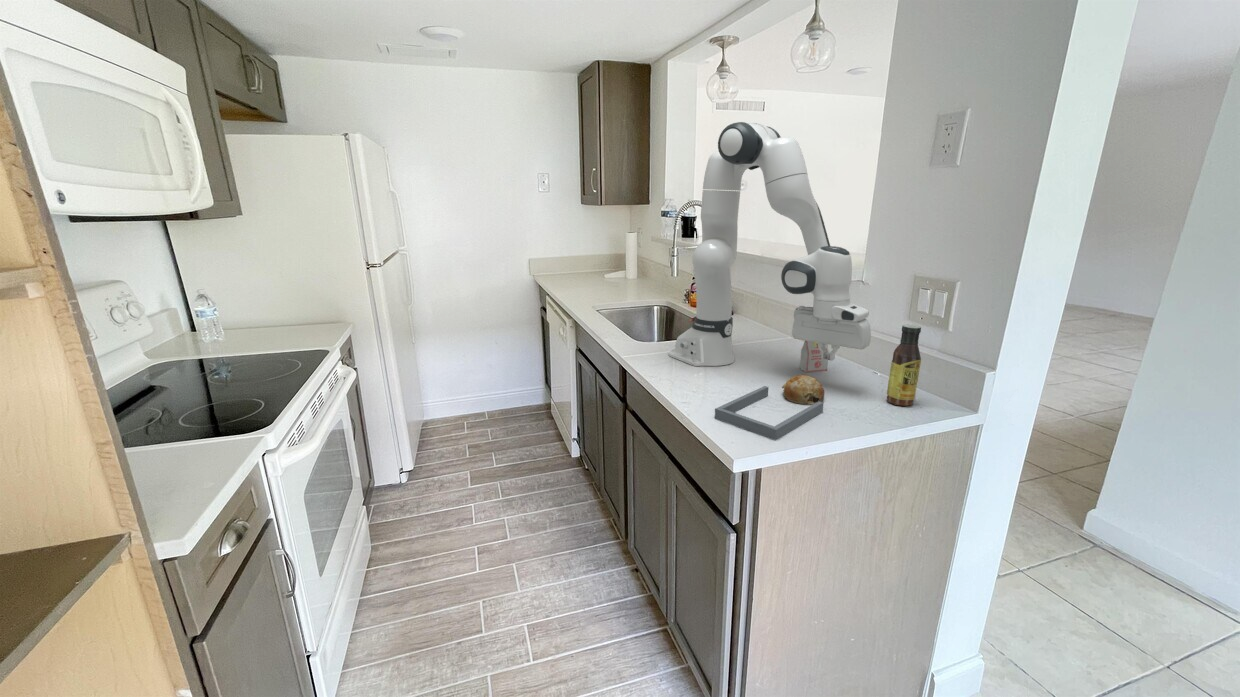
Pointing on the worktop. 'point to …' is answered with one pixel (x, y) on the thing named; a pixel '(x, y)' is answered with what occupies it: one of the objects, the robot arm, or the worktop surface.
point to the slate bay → (761, 428)
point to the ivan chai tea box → (812, 358)
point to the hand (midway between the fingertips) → (827, 359)
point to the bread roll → (803, 390)
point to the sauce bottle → (905, 368)
